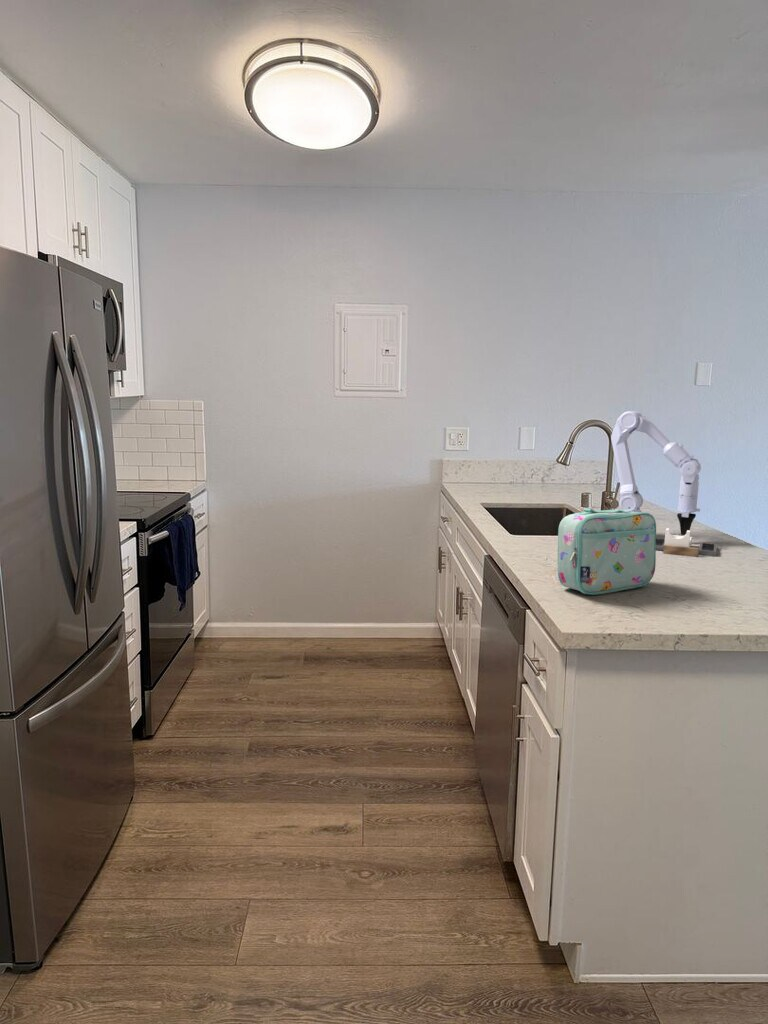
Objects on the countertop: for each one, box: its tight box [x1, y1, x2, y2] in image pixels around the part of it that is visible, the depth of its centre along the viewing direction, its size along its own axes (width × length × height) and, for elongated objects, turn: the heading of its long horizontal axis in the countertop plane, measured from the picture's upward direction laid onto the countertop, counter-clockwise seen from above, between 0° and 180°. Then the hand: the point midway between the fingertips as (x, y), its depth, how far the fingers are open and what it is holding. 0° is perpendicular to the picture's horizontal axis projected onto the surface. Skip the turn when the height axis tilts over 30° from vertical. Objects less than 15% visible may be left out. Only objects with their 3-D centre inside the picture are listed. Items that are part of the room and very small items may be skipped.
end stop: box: [662, 545, 699, 558], centre depth 210 cm, size 10×2×2 cm, turn 63°
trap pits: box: [656, 537, 718, 557], centre depth 218 cm, size 20×12×2 cm, turn 63°
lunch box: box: [557, 507, 657, 596], centre depth 172 cm, size 27×10×21 cm, turn 114°
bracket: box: [664, 527, 693, 547], centre depth 218 cm, size 13×7×8 cm, turn 151°
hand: (684, 534), depth 226 cm, fingers closed
